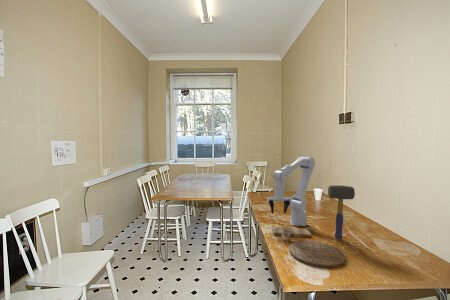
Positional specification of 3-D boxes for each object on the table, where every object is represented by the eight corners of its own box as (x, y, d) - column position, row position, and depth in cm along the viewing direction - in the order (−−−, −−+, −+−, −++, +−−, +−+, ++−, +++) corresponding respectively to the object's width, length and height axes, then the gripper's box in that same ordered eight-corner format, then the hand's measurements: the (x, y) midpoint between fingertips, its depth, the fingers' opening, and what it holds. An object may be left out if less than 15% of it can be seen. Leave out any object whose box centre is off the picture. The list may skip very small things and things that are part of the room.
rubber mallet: (328, 241, 134) (331, 186, 132) (324, 235, 141) (327, 183, 140) (352, 243, 132) (356, 187, 131) (347, 237, 140) (350, 184, 138)
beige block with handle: (285, 231, 146) (285, 222, 146) (290, 241, 132) (290, 231, 132) (279, 231, 146) (279, 222, 146) (283, 240, 133) (283, 230, 132)
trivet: (353, 272, 104) (353, 267, 103) (292, 265, 108) (292, 261, 107) (336, 246, 128) (336, 242, 128) (287, 241, 132) (287, 238, 132)
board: (307, 231, 147) (307, 228, 147) (311, 237, 138) (311, 234, 138) (271, 229, 148) (271, 226, 148) (273, 235, 139) (273, 232, 139)
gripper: (288, 189, 153) (288, 210, 154) (265, 189, 152) (265, 210, 153) (292, 191, 146) (292, 214, 147) (268, 191, 145) (268, 214, 146)
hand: (278, 212), depth 149 cm, fingers open, 7 cm apart
